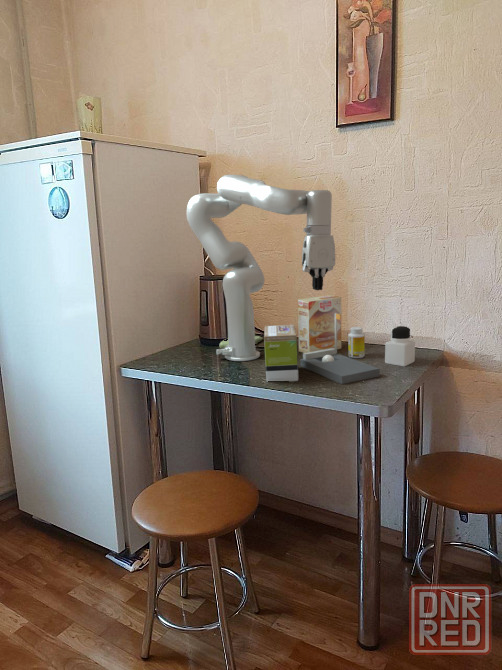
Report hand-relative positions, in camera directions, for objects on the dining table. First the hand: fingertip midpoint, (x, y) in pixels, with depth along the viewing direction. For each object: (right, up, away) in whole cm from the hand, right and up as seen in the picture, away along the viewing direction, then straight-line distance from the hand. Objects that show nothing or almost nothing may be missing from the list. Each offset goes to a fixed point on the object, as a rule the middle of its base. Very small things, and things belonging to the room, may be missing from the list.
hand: (317, 289), depth 168 cm
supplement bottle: (+15, -22, +15) cm, 31 cm away
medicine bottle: (+28, -24, +6) cm, 37 cm away
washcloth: (-25, -19, +40) cm, 51 cm away
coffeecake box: (+4, -20, +26) cm, 33 cm away
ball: (+4, -23, +4) cm, 24 cm away
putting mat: (+7, -26, -1) cm, 27 cm away
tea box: (-12, -27, -2) cm, 30 cm away
